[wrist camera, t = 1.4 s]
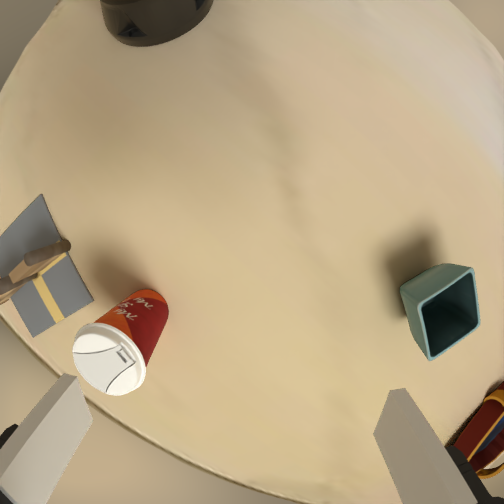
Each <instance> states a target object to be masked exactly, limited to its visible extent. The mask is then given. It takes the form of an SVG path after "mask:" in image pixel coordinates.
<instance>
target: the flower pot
mask: <svg viewBox="0 0 504 504" xmlns="http://www.w3.org/2000/svg"><path fill="white" fill-rule="evenodd" d="M400 294H401V297H402V301H403V304H404V307H405V311H406V315H407V318H408V322H409V326H410V330H411V333H412V335H413V338H414V339H415V341H416V343H417V344H418V346H419V347H420V349H421V350H422V352H423V353H424V355H425V356H426V357H427V359H428V360H429V361H432V360H434V359H435V358H437V357H438V356H440V355H441V354H443V353H444V352H446V351H447V350H448V349H450V348H451V347H453V346H454V345H455V344H457V343H458V342H459V341H461V340H462V339H464V338H465V337H467V336H468V335H469V334H470V333H472V332H473V331H474V330H476V329H477V328H478V327H479V326H480V312H479V304H478V296H477V288H476V281H475V273H474V270H473V268H471V267H466V266H461V265H455V264H440V265H436V266H434V267H432V268H430V269H428V270H426V271H424V272H423V273H421V274H419V275H418V276H416V277H415V278H413V279H411V280H410V281H408V282H406V283H404V284H403V285H402V286H401V287H400Z"/></svg>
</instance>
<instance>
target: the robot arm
mask: <svg viewBox="0 0 504 504" xmlns="http://www.w3.org/2000/svg"><path fill="white" fill-rule="evenodd" d="M100 1H101V7H102V12H103V16H104V21H105V24H106V27H107V29H108V30H109V31H110V32H111V34H112V35H113V36H114V37H115V38H116V39H117V40H119V41H120V42H122V43H124V44H127V45H131V46H152V45H157V44H161V43H164V42H168V41H170V40H173V39H175V38H177V37H179V36H181V35H183V34H185V33H186V32H188V31H189V30H191V29H192V28H194V27H195V26H196V25H197V24H198V23H199V22H201V21H202V19H203V18H204V17H205V16H206V15H207V13H208V12H209V10H210V8H211V6H212V3H213V0H100ZM92 422H93V419H92V417H91V414H90V411H89V409H88V406H87V403H86V401H85V398H84V395H83V392H82V389H81V386H80V383H79V380H78V377H77V376H73V375H69V374H65V373H64V374H63V375H62V376H61V377H60V378H59V379H58V380H57V382H56V383H55V384H54V385H53V386H52V387H51V388H50V390H49V391H48V392H47V393H46V394H45V395H44V397H43V398H42V399H41V400H40V401H39V402H38V404H37V405H36V406H35V407H34V408H33V409H32V411H31V412H30V413H29V414H28V416H27V417H26V418H25V419H24V420H23V422H22V423H21V424H20V425H19V426H18V425H16V424H14V425H12V426H10V427H9V428H7V429H6V430H5V431H4V432H3V433H2V434H1V436H0V504H46V503H47V501H48V499H49V497H50V496H51V494H52V492H53V490H54V488H55V486H56V484H57V483H58V481H59V479H60V477H61V475H62V474H63V472H64V470H65V468H66V466H67V465H68V463H69V461H70V459H71V458H72V456H73V454H74V452H75V451H76V449H77V447H78V445H79V444H80V442H81V440H82V439H83V437H84V435H85V434H86V432H87V430H88V429H89V427H90V425H91V423H92ZM373 435H374V437H375V439H376V442H377V444H378V446H379V448H380V451H381V453H382V455H383V458H384V460H385V462H386V464H387V467H388V469H389V471H390V474H391V476H392V479H393V481H394V483H395V486H396V488H397V490H398V493H399V495H400V498H401V500H402V503H403V504H504V499H503V498H501V497H492V496H491V495H490V494H489V493H488V491H487V490H486V488H485V486H484V485H483V483H482V482H481V480H480V478H479V477H478V475H477V474H476V472H475V471H474V470H473V467H472V466H471V464H470V463H468V460H467V458H466V457H465V455H464V454H463V452H462V451H460V450H459V449H457V448H456V447H455V446H453V445H452V446H450V447H447V448H445V447H444V446H443V444H442V443H441V441H440V440H439V438H438V436H437V435H436V433H435V432H434V430H433V429H432V427H431V426H430V424H429V423H428V421H427V420H426V418H425V417H424V415H423V414H422V412H421V411H420V409H419V408H418V406H417V405H416V403H415V402H414V400H413V399H412V397H411V396H410V395H409V393H408V392H407V390H406V389H405V388H402V389H396V390H390V392H389V394H388V397H387V400H386V403H385V405H384V408H383V411H382V413H381V416H380V418H379V421H378V423H377V426H376V428H375V431H374V433H373Z"/></svg>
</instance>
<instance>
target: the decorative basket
mask: <svg viewBox="0 0 504 504" xmlns="http://www.w3.org/2000/svg"><path fill="white" fill-rule="evenodd" d="M453 446H455V447H456V448H457V449H459V450H460V451H462V452H463V454H464V455H465V457H466V458H467V460H468V463H470V464H471V466H472V467H473V470H474V471H475V472H476V474H477V475H478V477H479V478H480V479H486V478H490V477H493V476H495V475H496V474H498V473H500V472H501V471H502V470H503V469H504V463H503V464H501V465H500V466H498V467H496V468H492V469H483V468H485V467H486V466H487V465H489V464H490V463H491V462H493V461H494V460H495V459H496V458H497V457H498V456H499V455H500V454H501V453H502V452H503V451H504V382H503V383H502V384H501V385H500V386H499V387H498V388H497V389H496V390H495V391H494V392H492V393H491V394H490V395H489V396H487V397H486V398H485V399H484V401H483V404H482V407H481V408H480V410H479V411H478V412H477V413H476V415H475V416H474V417H473V419H472V420H471V421H470V423H469V424H468V425H467V427H466V428H465V429H464V431H463V432H462V434H461V435H460V436H459V438H458V439H457V441H456V442H455V444H454V445H453Z"/></svg>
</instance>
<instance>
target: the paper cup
mask: <svg viewBox="0 0 504 504" xmlns="http://www.w3.org/2000/svg"><path fill="white" fill-rule="evenodd" d="M168 314H169V310H168V305H167V303H166V301H165V300H164V298H163V297H162V296H161V295H160V294H158V293H157V292H155V291H153V290H149V289H142V290H139V291H137V292H135V293H133V294H132V295H130V296H129V297H128V298H126V299H125V300H123V301H122V302H121V303H119V304H118V305H117V306H115V307H114V308H112V309H111V310H110V311H108V312H107V313H106V314H104V315H103V316H102V317H100V318H99V319H98V320H96V321H95V322H94V323H90V324H87V325H85V326H83V327H82V328H81V329H80V330H79V331H78V332H77V334H76V337H75V341H74V344H73V351H72V352H73V358H74V362H75V365H76V367H77V369H78V371H79V372H80V374H81V375H82V377H83V378H84V379H85V380H86V381H87V382H88V383H89V384H90V385H92V386H93V387H94V388H96V389H98V390H100V391H102V392H104V393H106V394H109V395H117V396H118V395H124V394H127V393H129V392H131V391H133V390H135V389H137V388H138V387H139V386H140V385H141V384H142V383H143V381H144V378H145V374H146V366H147V364H148V362H149V359H150V357H151V355H152V353H153V350H154V348H155V346H156V344H157V342H158V340H159V337H160V335H161V333H162V331H163V329H164V326H165V324H166V322H167V319H168Z"/></svg>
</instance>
